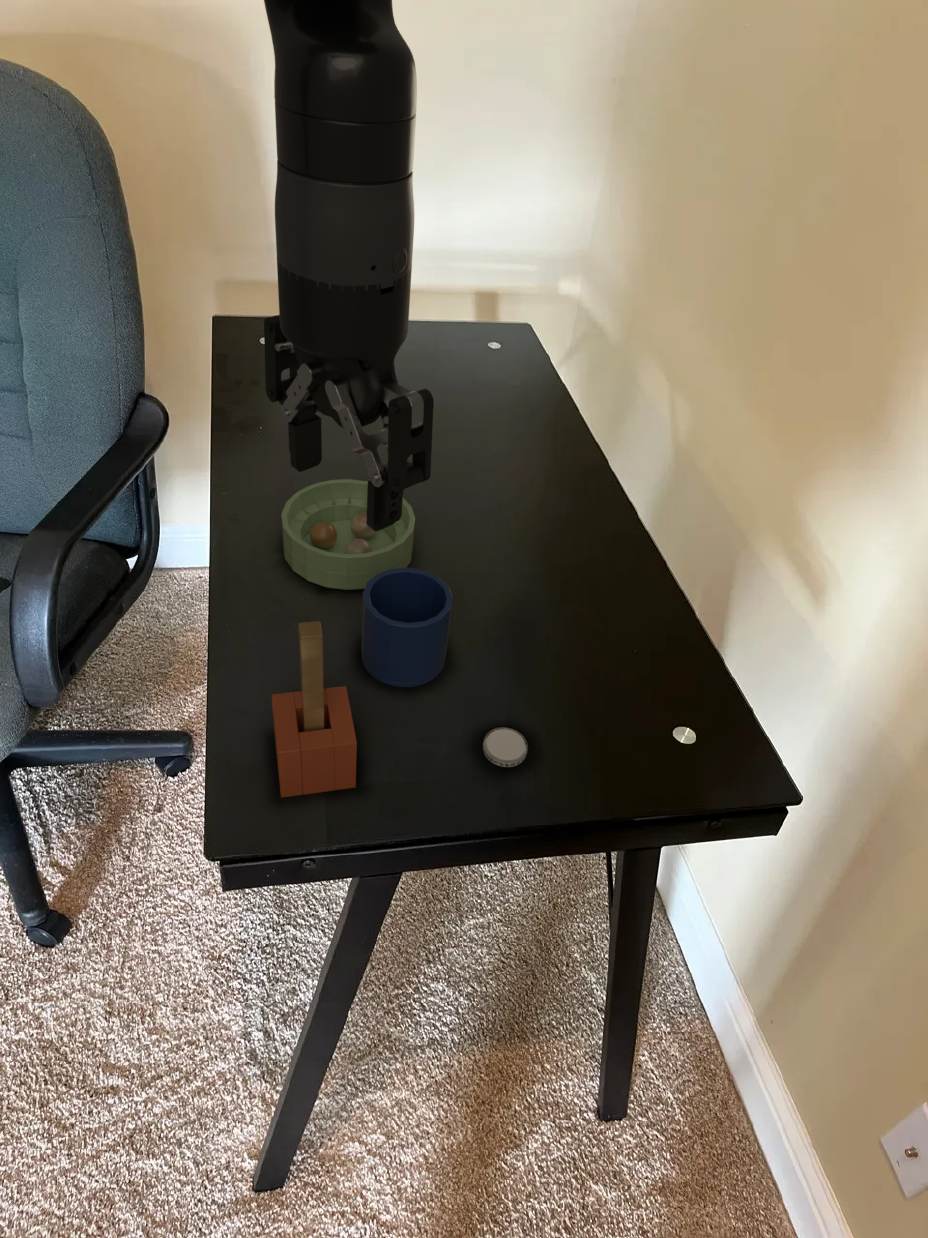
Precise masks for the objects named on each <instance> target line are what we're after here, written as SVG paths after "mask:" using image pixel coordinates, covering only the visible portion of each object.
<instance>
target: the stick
mask: <svg viewBox="0 0 928 1238" xmlns="http://www.w3.org/2000/svg"><path fill="white" fill-rule="evenodd" d="M297 626H298V646H299V667H300V691H301V694H302V717H303V732H307V731H316V730H324V689H325V688H324V687H325V683H324V634H323V630H322V629H323V628H322V623H321V621H320V620H315V621H304V622H298V625H297Z"/></svg>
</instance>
